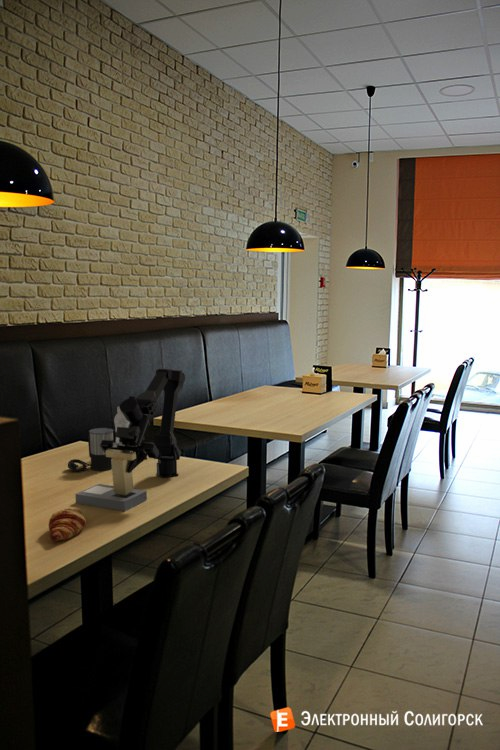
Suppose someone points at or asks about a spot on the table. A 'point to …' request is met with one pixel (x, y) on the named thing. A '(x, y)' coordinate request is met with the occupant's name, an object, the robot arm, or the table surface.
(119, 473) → the t key
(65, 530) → the croissant
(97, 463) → the milk frother
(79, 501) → the board
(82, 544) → the table surface
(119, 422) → the plastic bottle
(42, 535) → the table surface
